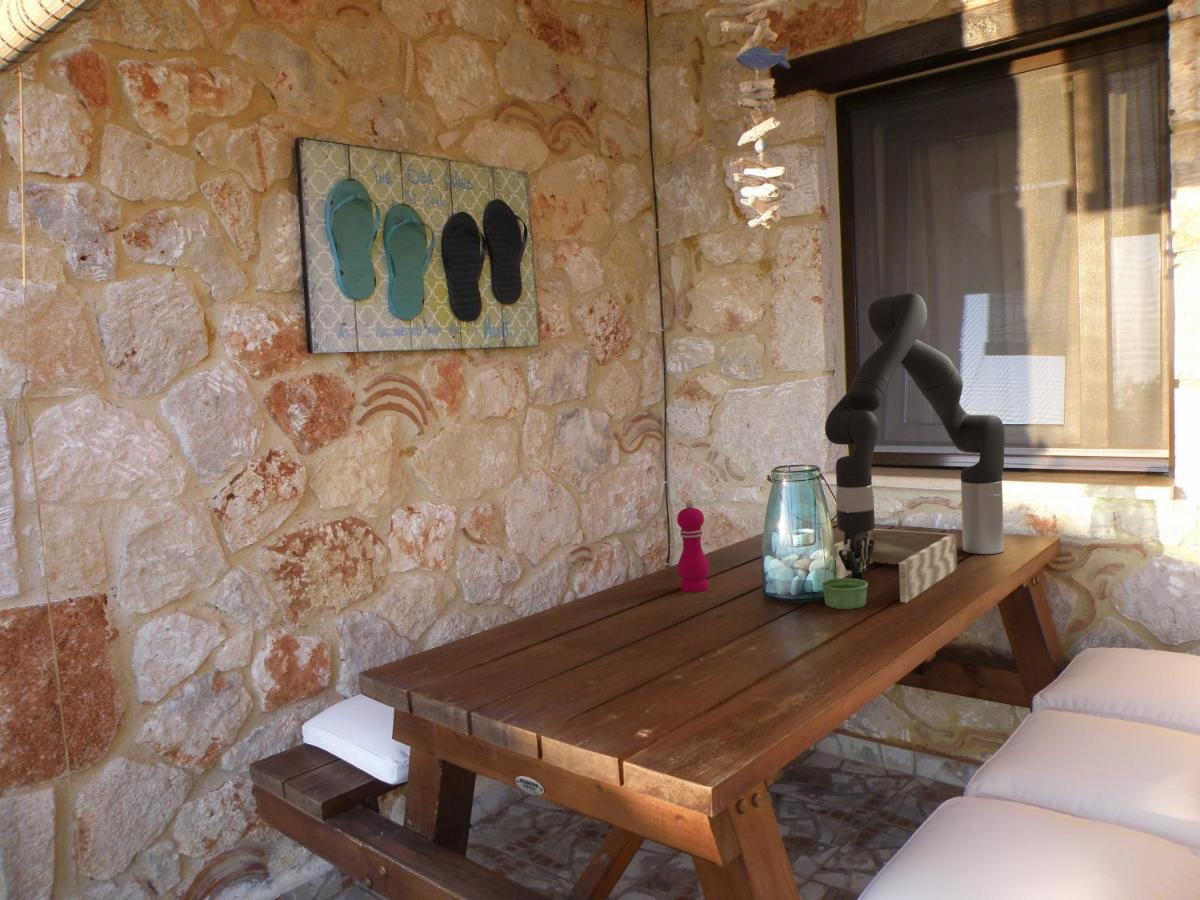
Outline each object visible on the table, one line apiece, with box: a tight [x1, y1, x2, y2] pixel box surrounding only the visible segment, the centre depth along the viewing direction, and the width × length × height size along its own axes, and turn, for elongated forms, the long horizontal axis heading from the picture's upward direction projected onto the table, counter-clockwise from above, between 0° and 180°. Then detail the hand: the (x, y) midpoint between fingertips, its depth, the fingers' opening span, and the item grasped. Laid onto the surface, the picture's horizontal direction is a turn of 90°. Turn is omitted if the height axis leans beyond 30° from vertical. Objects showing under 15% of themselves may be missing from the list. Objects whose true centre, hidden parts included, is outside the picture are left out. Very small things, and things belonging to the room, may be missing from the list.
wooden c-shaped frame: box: [833, 528, 958, 604], centre depth 201 cm, size 32×20×8 cm, turn 141°
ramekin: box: [822, 577, 869, 610], centre depth 184 cm, size 9×9×4 cm
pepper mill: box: [676, 500, 711, 593], centre depth 204 cm, size 7×7×20 cm
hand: (858, 588), depth 189 cm, fingers closed
